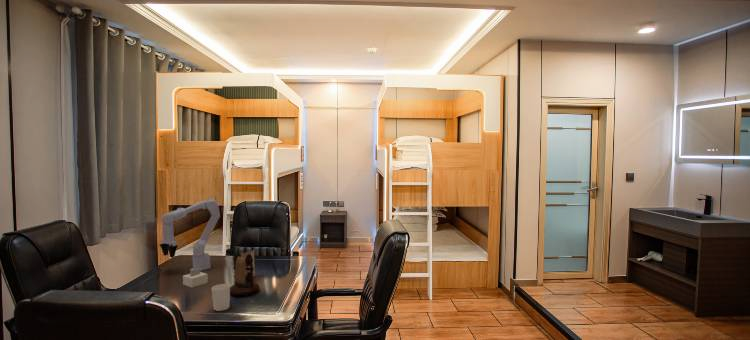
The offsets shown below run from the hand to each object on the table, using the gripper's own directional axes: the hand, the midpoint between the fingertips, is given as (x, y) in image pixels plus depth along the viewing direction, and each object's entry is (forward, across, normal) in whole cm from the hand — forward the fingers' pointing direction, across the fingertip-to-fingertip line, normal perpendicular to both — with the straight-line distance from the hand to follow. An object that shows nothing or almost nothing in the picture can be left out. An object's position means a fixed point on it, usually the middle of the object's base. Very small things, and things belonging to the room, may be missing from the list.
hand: (169, 256), depth 223 cm
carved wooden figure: (+11, +50, +20) cm, 55 cm away
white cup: (+11, +72, -12) cm, 74 cm away
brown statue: (+11, +64, +6) cm, 65 cm away
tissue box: (+10, +30, -1) cm, 32 cm away
